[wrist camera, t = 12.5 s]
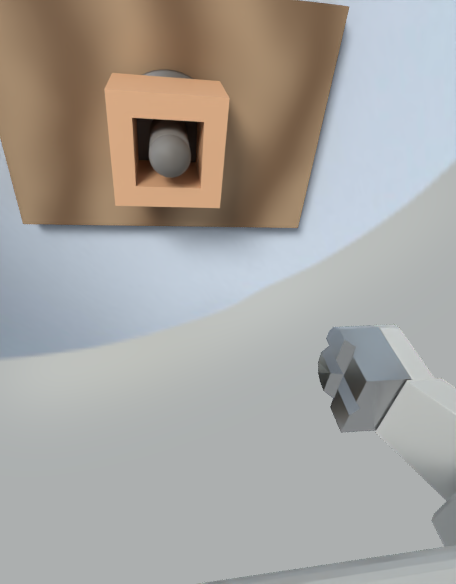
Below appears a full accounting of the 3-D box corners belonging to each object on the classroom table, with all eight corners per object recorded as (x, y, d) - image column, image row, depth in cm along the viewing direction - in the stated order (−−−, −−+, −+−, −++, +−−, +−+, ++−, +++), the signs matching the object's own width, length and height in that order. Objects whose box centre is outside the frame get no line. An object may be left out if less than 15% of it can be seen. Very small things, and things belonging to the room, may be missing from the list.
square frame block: (120, 177, 25) (115, 205, 22) (111, 72, 21) (104, 89, 18) (212, 180, 26) (219, 208, 23) (219, 81, 22) (229, 98, 19)
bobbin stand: (28, 213, 28) (-6, 276, 22) (-35, -39, 20) (-117, -44, 14) (292, 218, 32) (323, 274, 26) (339, 5, 23) (401, 15, 17)
